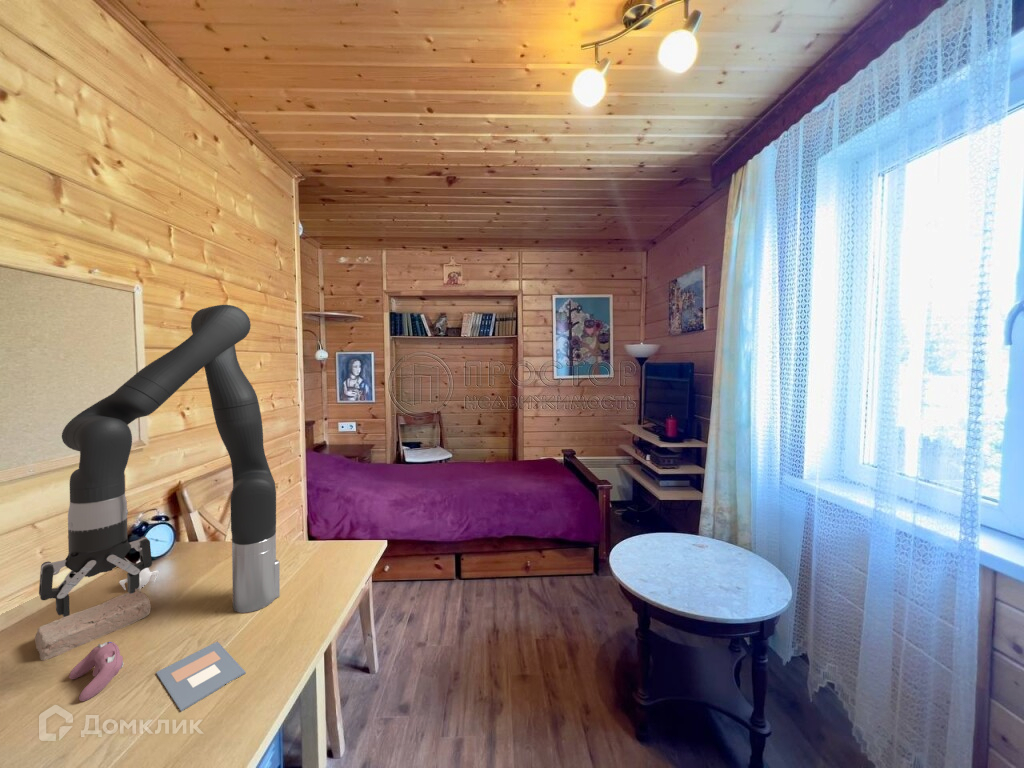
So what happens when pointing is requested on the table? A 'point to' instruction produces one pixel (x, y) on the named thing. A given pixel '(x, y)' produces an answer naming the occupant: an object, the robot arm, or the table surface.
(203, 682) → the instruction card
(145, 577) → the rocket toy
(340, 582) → the table surface
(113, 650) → the video game controller
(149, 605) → the brick
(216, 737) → the table surface
